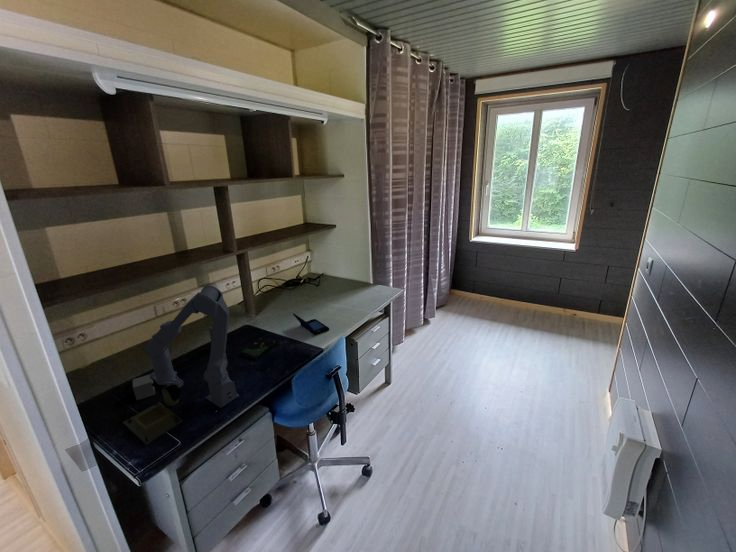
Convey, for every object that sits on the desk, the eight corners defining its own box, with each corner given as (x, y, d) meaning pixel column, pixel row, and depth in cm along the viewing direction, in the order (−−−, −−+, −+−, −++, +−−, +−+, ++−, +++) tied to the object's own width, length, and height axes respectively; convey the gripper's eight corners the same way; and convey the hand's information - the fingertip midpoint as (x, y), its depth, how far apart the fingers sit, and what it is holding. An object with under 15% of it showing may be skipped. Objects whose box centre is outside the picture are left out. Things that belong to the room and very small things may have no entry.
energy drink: (221, 344, 163) (217, 322, 159) (227, 347, 160) (223, 325, 156) (210, 348, 159) (206, 326, 155) (216, 352, 156) (212, 330, 152)
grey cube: (136, 400, 126) (132, 387, 124) (136, 392, 130) (132, 379, 128) (155, 394, 129) (151, 381, 127) (154, 386, 134) (150, 373, 131)
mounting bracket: (183, 421, 115) (181, 413, 114) (146, 445, 106) (143, 436, 105) (159, 403, 124) (157, 396, 123) (123, 424, 114) (121, 416, 113)
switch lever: (181, 401, 125) (177, 385, 123) (169, 408, 122) (164, 392, 119) (175, 396, 128) (171, 380, 125) (162, 403, 124) (158, 387, 122)
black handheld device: (330, 330, 175) (329, 315, 172) (308, 339, 167) (307, 323, 164) (314, 320, 186) (313, 305, 183) (293, 328, 178) (292, 312, 175)
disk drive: (261, 341, 167) (240, 356, 154) (261, 336, 166) (240, 351, 153) (278, 345, 163) (258, 361, 150) (278, 340, 162) (258, 355, 149)
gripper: (187, 365, 120) (194, 395, 125) (158, 357, 125) (166, 387, 130) (170, 376, 114) (178, 408, 119) (140, 368, 119) (149, 398, 124)
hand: (171, 398), depth 124 cm, fingers closed on switch lever, 5 cm apart
